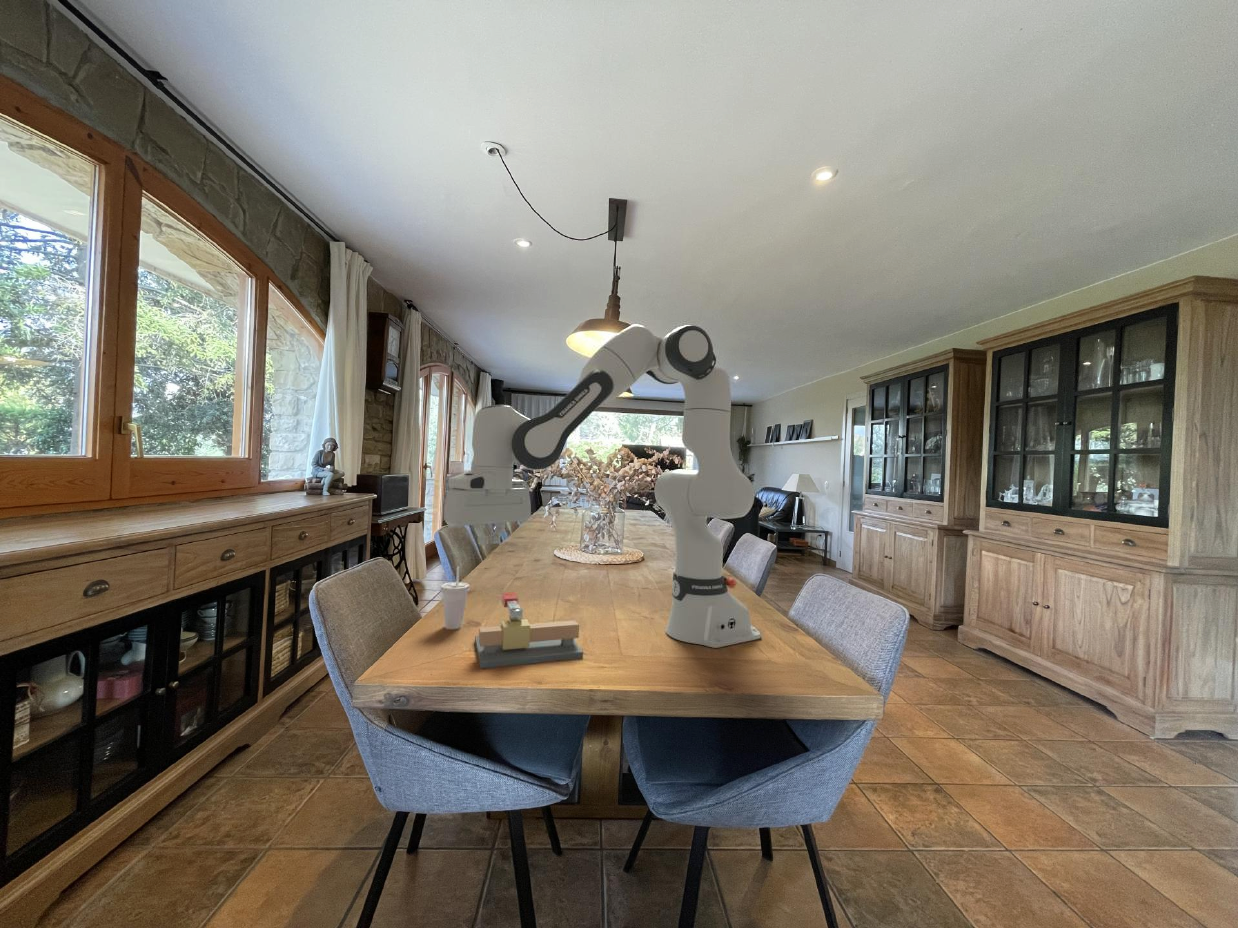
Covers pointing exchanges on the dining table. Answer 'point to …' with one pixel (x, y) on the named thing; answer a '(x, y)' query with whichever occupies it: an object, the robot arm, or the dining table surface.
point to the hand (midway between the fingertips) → (489, 543)
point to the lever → (512, 606)
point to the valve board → (528, 653)
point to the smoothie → (454, 602)
